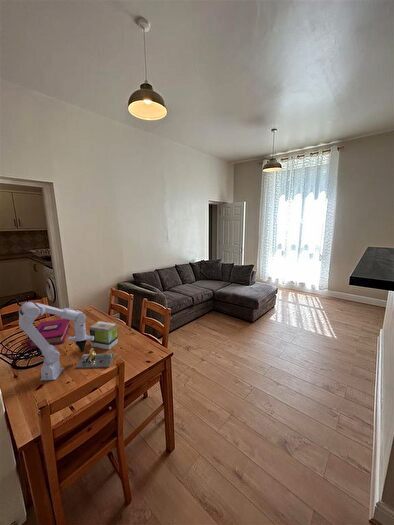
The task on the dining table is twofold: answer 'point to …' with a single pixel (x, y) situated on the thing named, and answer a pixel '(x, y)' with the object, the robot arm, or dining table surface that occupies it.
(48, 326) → the book
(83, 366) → the bolt plate
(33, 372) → the dining table surface
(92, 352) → the slider handle
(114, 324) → the tea box
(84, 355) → the slider beam
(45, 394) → the dining table surface
